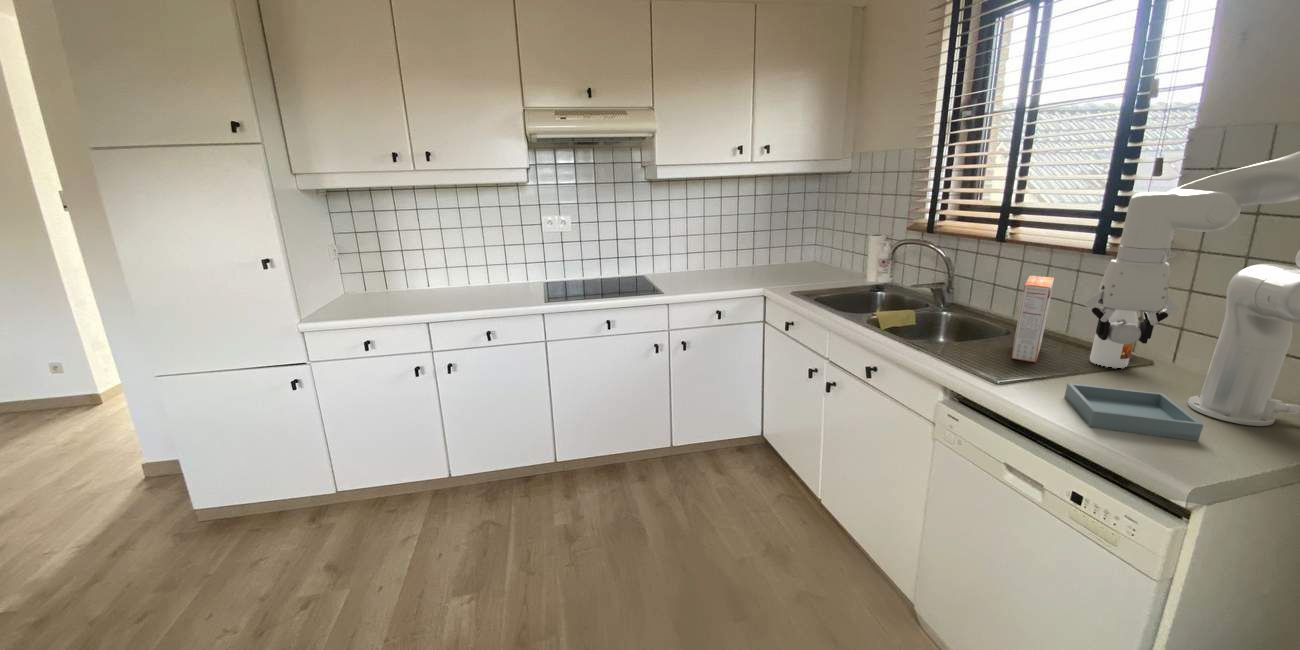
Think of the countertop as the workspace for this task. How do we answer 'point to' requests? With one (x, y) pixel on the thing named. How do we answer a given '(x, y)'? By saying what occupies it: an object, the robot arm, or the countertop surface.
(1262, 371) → the robot arm
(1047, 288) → the cracker box
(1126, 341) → the garlic
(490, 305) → the countertop surface
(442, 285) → the countertop surface
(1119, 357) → the milk bottle
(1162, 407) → the tray
